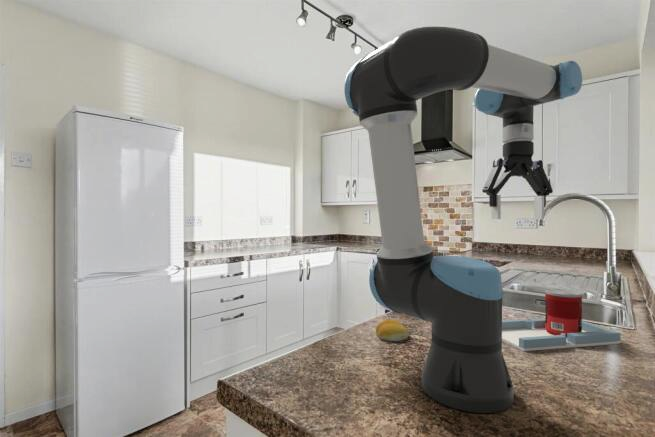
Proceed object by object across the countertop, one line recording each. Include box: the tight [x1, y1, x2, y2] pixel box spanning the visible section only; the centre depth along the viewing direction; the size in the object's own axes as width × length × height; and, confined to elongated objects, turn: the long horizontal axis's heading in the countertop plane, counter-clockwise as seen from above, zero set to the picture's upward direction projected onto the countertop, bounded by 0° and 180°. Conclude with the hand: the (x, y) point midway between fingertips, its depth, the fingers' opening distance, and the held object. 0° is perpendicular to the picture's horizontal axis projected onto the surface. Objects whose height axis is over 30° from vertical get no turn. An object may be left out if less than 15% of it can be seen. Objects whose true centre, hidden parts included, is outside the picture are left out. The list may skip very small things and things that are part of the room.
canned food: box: [544, 288, 583, 338], centre depth 92 cm, size 8×8×11 cm
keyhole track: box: [502, 317, 622, 352], centre depth 91 cm, size 28×15×3 cm, turn 101°
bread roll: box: [375, 319, 409, 342], centre depth 92 cm, size 8×9×4 cm
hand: (517, 219), depth 96 cm, fingers open, 13 cm apart
